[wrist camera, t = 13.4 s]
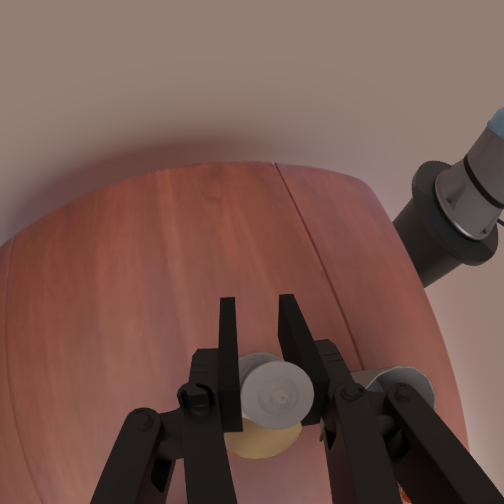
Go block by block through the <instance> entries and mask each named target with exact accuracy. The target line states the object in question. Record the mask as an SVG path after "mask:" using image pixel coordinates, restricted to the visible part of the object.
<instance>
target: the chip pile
mask: <svg viewBox="0 0 504 504" xmlns="http://www.w3.org/2000/svg"><path fill="white" fill-rule="evenodd" d="M242 423H243V432H231V433H224V440H225V445H226V449H227V450H228V451H230V452H232V453H234V454H235V455H238V456H241V457H244V458H249V459H264V458H269V457H272V456H275V455H278V454H280V453H282V452H283V451H285V450H286V449H288V448H289V447H290V446H291V445H292V444H293V443H294V442H295V441H296V439H297V438H298V436H299V435H300V433H301V430H302V427H303V426H301V422H299V423H297V424H296V425H294V426H291V427H289V428H286V429H280V430H273V429H266V428H264V427H261V426H258V425H257V424H256V423H254V422H253V421H251V420H248V419H246V418H243V417H242Z"/></svg>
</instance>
